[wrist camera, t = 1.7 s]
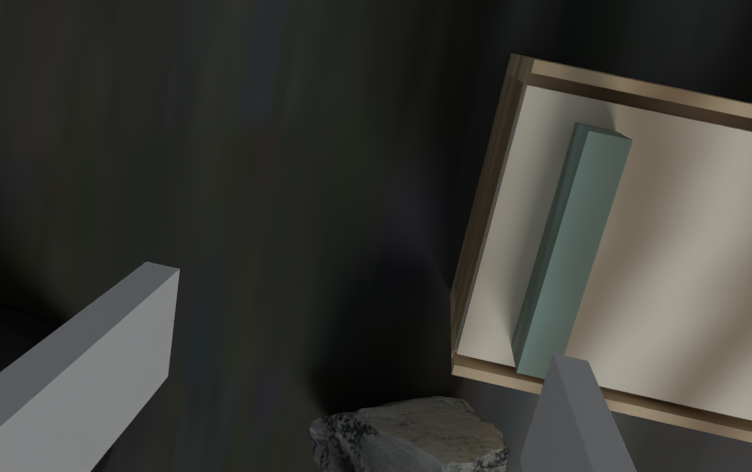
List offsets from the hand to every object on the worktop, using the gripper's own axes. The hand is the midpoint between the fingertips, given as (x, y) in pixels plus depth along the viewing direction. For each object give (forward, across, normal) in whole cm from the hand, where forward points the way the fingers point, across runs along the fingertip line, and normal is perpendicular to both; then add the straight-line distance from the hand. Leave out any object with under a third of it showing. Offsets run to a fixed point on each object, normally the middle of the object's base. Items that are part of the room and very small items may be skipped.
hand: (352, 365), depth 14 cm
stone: (+24, +4, -16) cm, 29 cm away
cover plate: (+15, +15, 0) cm, 21 cm away
